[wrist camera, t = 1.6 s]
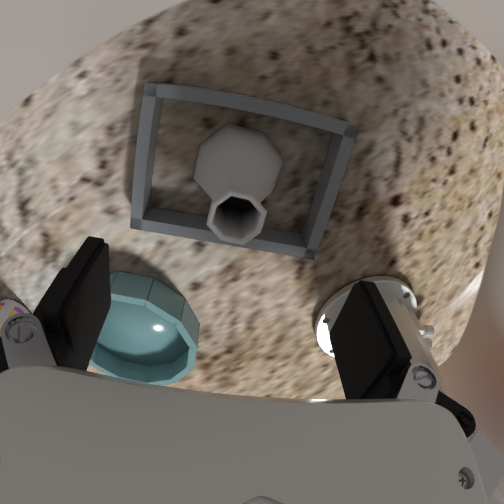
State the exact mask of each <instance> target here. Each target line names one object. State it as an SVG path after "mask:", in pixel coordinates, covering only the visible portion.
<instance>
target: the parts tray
mask: <svg viewBox="0 0 504 504" xmlns="http://www.w3.org/2000/svg"><path fill="white" fill-rule="evenodd" d="M163 98H168V99H176V100H183V101H190V102H197V103H203V104H210V105H216V106H221V107H227V108H232V109H238V110H243V111H248V112H253V113H258V114H262V115H267V116H271V117H276V118H280V119H284V120H288V121H292V122H296V123H300V124H304V125H308V126H312V127H315V128H319V129H323V130H326V131H330V132H333V136H332V140H331V143H330V146H329V150H328V153H327V156H326V160H325V163H324V166H323V169H322V173H321V176H320V179H319V182H318V185H317V189H316V192H315V195H314V198H313V201H312V204H311V207H310V211H309V214H308V217H307V220H306V223H305V226H304V229H303V232H302V234H299V233H293V232H288V231H283V230H278V229H272V228H267V227H262V230H261V233H260V234H258V235H257V236H255V237H254V238H252V239H251V240H249V241H248V242H247V243H245V244H244V245H240V244H235V243H231V242H226V241H222V240H220V239H219V238H218V237H217V236H216V235H215V233H214V232H213V231H212V230H211V229H210V228H209V227H208V226H207V225H206V222H207V218H208V217H205V216H200V215H194V214H188V213H182V212H176V211H170V210H164V209H158V208H152V207H149V205H150V194H151V184H152V174H153V165H154V157H155V149H156V141H157V134H158V127H159V120H160V114H161V107H162V101H163ZM358 129H359V127H358V126H356V125H354V124H352V123H350V122H348V121H344V120H341V119H338V118H335V117H331V116H328V115H325V114H321V113H318V112H314V111H310V110H307V109H303V108H299V107H295V106H291V105H287V104H283V103H279V102H275V101H270V100H266V99H261V98H257V97H252V96H247V95H242V94H237V93H231V92H226V91H220V90H214V89H208V88H202V87H195V86H188V85H180V84H172V83H163V82H147V83H145V86H144V92H143V98H142V105H141V112H140V119H139V127H138V135H137V144H136V153H135V163H134V174H133V187H132V203H131V222H130V228H132V229H138V230H144V231H150V232H156V233H162V234H167V235H173V236H179V237H185V238H191V239H197V240H203V241H208V242H214V243H220V244H226V245H232V246H238V247H243V248H249V249H255V250H261V251H267V252H272V253H278V254H284V255H290V256H296V257H301V258H307V259H313V260H314V258H315V255H316V253H317V250H318V247H319V245H320V242H321V239H322V236H323V234H324V231H325V228H326V225H327V223H328V220H329V217H330V214H331V211H332V208H333V205H334V203H335V200H336V197H337V194H338V191H339V188H340V185H341V182H342V179H343V176H344V173H345V170H346V167H347V164H348V161H349V158H350V154H351V151H352V148H353V145H354V142H355V139H356V135H357V132H358Z"/></svg>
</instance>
